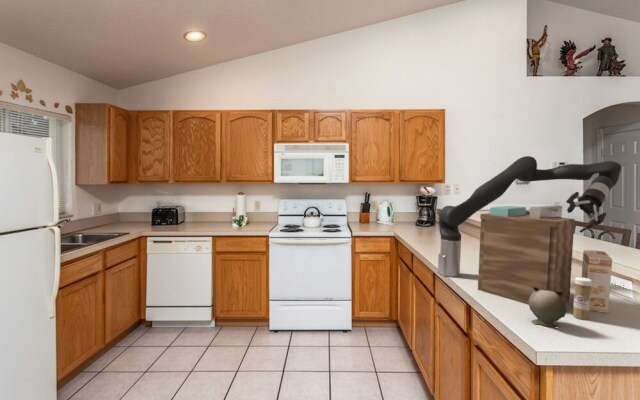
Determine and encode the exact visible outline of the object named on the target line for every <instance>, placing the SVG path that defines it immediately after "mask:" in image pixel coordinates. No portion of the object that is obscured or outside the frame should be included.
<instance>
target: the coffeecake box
mask: <svg viewBox="0 0 640 400" xmlns="http://www.w3.org/2000/svg"><path fill="white" fill-rule="evenodd" d="M581 264H582V267H581V277H583V278H588V279H591V280H592V286H591V297H590V310H589V311H594V312H598V311H601V312H600V313H604V312H606V313H605V314H609V308H610V305H609V304H610V295H611V294H610V293H611V280H612V279H611V278H612V266H613V265H612V264H613V258H612V257H611V256H610V255H609V254H608V253H607V252H606V251H603V250H602V251H601V250H592V249H591V250H589V249H583V251H582V263H581Z"/></svg>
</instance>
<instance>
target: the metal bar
mask: <svg viewBox="0 0 640 400" xmlns="http://www.w3.org/2000/svg"><path fill="white" fill-rule="evenodd" d="M562 214H563V205H555V204H554V205H553V204H552V205H544V206H543V205H540V206H532V207H529V215H530V218H536V219H542V218H549V217H562V216H563V215H562Z"/></svg>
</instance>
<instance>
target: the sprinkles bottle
mask: <svg viewBox="0 0 640 400" xmlns="http://www.w3.org/2000/svg"><path fill="white" fill-rule="evenodd" d="M574 285H575V287H574V297H573V313H572V316H573V317H574V318H576V319H579V320H585V321H586V320H590V311H591V310H590V297H591V286H592V280H591V279H588V278H583V277H582V276H579V277H578V276H577V277H576V276H575V279H574Z"/></svg>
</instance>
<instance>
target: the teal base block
mask: <svg viewBox="0 0 640 400" xmlns="http://www.w3.org/2000/svg"><path fill="white" fill-rule="evenodd" d="M526 212H527V207H525V206H516V205H513V206H512V205H503V206H491V207H490V210H489V213H490V215H497V216H507V217H508V216H516V215H525V214H526V215H527V213H526Z"/></svg>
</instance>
